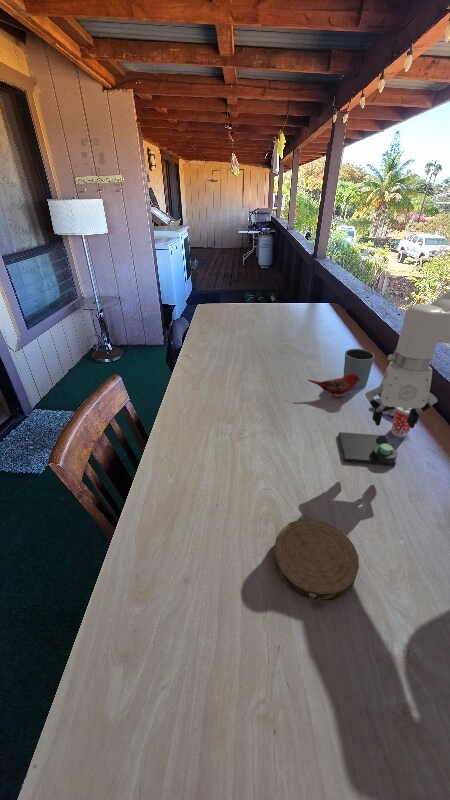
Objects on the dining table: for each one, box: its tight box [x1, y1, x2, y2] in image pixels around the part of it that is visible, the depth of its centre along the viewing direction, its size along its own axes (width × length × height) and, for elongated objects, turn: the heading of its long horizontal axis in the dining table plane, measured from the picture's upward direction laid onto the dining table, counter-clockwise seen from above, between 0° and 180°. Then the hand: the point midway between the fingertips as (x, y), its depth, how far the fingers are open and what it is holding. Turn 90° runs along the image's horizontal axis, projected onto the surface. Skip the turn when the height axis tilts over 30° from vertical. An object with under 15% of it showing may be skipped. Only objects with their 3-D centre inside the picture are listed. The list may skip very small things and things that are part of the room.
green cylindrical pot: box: [342, 348, 376, 389], centre depth 130 cm, size 10×10×12 cm
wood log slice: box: [273, 518, 360, 603], centre depth 68 cm, size 16×16×3 cm
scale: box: [337, 431, 398, 467], centre depth 97 cm, size 13×12×3 cm
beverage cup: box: [390, 407, 412, 438], centre depth 102 cm, size 6×6×14 cm
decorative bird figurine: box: [307, 373, 361, 399], centre depth 121 cm, size 3×18×10 cm, turn 78°
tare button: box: [379, 443, 394, 455], centre depth 93 cm, size 3×3×2 cm
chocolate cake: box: [374, 398, 396, 419], centre depth 114 cm, size 10×7×12 cm
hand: (393, 423), depth 89 cm, fingers open, 7 cm apart
